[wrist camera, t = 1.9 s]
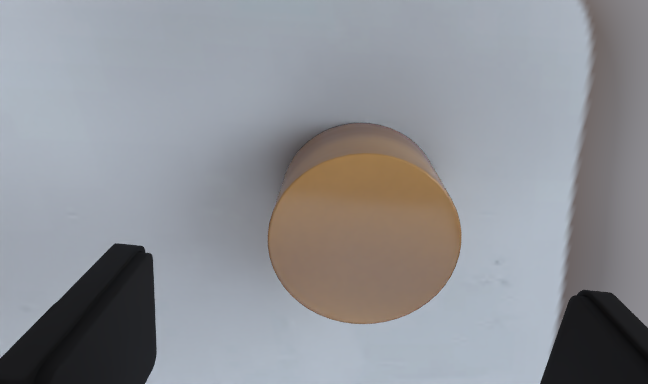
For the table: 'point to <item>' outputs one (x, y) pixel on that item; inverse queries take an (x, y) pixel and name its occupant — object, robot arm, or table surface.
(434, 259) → the copper brown cylinder
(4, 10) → the table surface
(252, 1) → the table surface
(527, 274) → the table surface
